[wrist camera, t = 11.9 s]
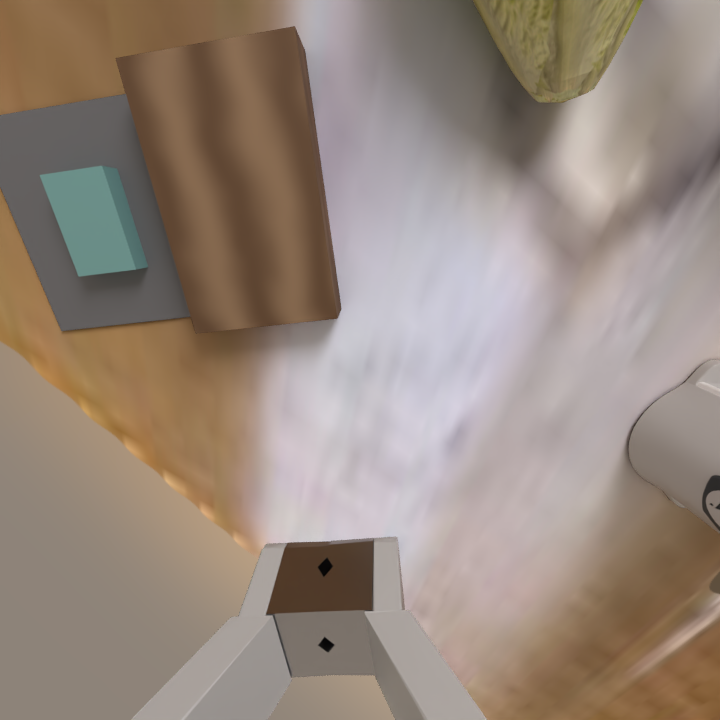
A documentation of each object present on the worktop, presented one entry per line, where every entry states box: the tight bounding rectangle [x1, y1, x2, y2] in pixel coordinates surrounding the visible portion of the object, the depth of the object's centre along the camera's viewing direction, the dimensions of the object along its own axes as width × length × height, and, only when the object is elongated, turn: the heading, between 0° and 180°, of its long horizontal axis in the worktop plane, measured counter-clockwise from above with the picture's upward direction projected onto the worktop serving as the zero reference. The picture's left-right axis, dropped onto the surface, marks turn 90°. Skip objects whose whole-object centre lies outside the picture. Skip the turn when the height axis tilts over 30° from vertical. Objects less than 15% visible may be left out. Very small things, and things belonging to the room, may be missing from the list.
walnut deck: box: [116, 26, 341, 334], centre depth 33 cm, size 14×22×4 cm, turn 7°
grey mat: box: [0, 94, 191, 331], centre depth 36 cm, size 16×20×1 cm
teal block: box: [40, 166, 148, 277], centre depth 35 cm, size 6×9×2 cm, turn 7°
